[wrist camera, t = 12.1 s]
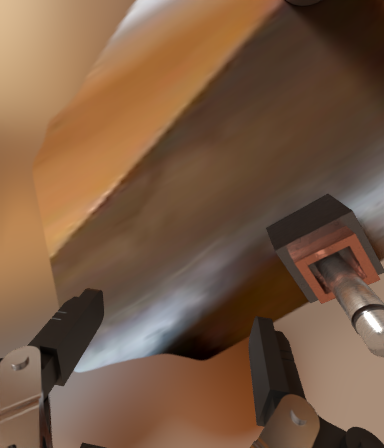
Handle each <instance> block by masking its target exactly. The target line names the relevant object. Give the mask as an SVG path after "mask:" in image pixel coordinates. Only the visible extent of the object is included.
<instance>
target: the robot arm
mask: <svg viewBox="0 0 384 448" xmlns="http://www.w3.org/2000/svg"><path fill="white" fill-rule="evenodd" d="M286 1H288V2H290V3H292V4H294V5H299V6H307V5H312V4H315V3H318V2H320V1H321V0H286ZM103 317H104V304H103V292H102V291H101V290H96V289H90V288H87V289H85V290H84V292H83V293H82V294H81V295H80V297H73V298H71V299H70V300H68V301H67V302H65V303H64V304H63V305H62V307H61V308H60V309H59V310H58V312H56V313H55V315H54V316H53V317H52V319H50V320H49V321H48V323H47V324H46V325H45V326H44V327H43V328H42V330H41V331H40V332H39V333H38V334H37V335H36V336H35V338H34V339H33V340H32V341H31V342H30V343H29V344H28V345H27V346H24V347H21V348H18V349H15V350H14V351H12V352H10V353H9V354H8V355H7V356H5V357H4V358H0V448H53V443H52V429H51V428H52V427H51V409H50V394H49V393H50V391H51V390H52V388H53V387H54V385H59V386H64V385H65V383H66V381H67V380H68V378H69V376H70V375H71V373H72V372H73V370H74V368H75V367H76V365H77V363H78V362H79V360H80V358H81V357H82V355H83V353H84V352H85V350H86V348H87V347H88V345H89V343H90V342H91V340H92V338H93V337H94V335H95V333H96V332H97V330H98V328H99V327H100V325H101V323H102V320H103ZM249 358H250V367H251V376H252V385H253V395H254V403H255V412H256V422H257V425H258V426H264V429H263V431H262V432H261V434H260V436H259V437H258V439H257V440H256V441H254V442H253V444H252V445H251V447H250V448H384V444H383V443H382V442H381V441H380V440H379V439H378V438H377V437H376V436H375V435H373V434H372V433H370V432H369V431H367V430H365V429H363V428H359V427H352V428H350V429H348V431H347V432H346V431H344V430H342V429H340V428H338V427H336V426H334V425H332V424H331V423H329V422H327V421H325V420H324V419H322V418H321V417H319V415H317V413H316V411H315V409H314V408H313V407H312V405H311V404H310V403H309V402H307V400H306V398H305V395H304V391H303V388H302V385H301V381H300V378H299V375H298V371H297V368H296V365H295V363H294V358H293V354H292V351H291V347H290V344H289V341H288V340H287V338H286V337H285V336H284V334H283V333H282V332H280V331H275V330H274V326H273V321H272V319H269V318H263V317H257V316H256V317H255V320H254V324H253V327H252V331H251V335H250V338H249ZM80 448H105V447H100V446H96V445H91V444H86V443H82V444H81V447H80Z"/></svg>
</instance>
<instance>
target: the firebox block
mask: <svg viewBox="0 0 384 448" xmlns="http://www.w3.org/2000/svg"><path fill="white" fill-rule="evenodd" d="M266 229H267V232H268V234H269V237H270V239H271V242H272V244H273V247H274V250H275V252H276V253H277V255H278V256H279V258H280V259H281V260H282V262H283V263H284V265H285V266H286V268H287V269H288V271H289V272H290V274H291V275H292V277H293V278H294V280H295V281H296V283H297V284H298V286H299V287H300V289H301V290H302V291H303V293H304V294H305V296H306V297H307V299H308V300H309V302H310V303H312V302H314V301H317V300H319V301H320V303H321V304H322V303H325V302H327V301H330V300H332V299H335V298H336V297H335V296H334V294H333V293H332V291H331V290H330V288H329V286H328V285H327V283H326V282H325V280H324V279H323V277H322V276H321V274H320V272H319V271H318V269H317V268H316V266H315V262H316V261H318V260H320V259H322V258H324V257H326V256H329V255H331V254H333V253H335V252H338V253H339V254H340V255H341V256H342V257H343V258H344V259H345V261H346V262H347V263H348V264H349V265H350V266H351V267H352V268H353V269H354V271H355V272H356V273H357V274H358V275H359V276H360V277H361V278H362V280H363V281H364V282H365V283H366V284H367V285H369V284H371V283H374V282H376V281H378V280H380V278H379V276H378V275H379V274H382V273H384V269H383V267H382V265H381V263H380V261H379V259H378V257H377V256H376V254H375V252H374V250H373V248H372V246H371V244H370V242H369V241H368V239H367V237H366V235H365V233H364V231H363V229H362V228H361V226H360V224H359V222H358V220H357V218H356V216H355V214H354V213H353V211H352V210H351V209H349V208H348V207H346V206H345V205H343V204H342V203H341V202H339V201H338V200H336V199H335V198H334V197H332V196H331V195H329V194H327V195H325V196H323V197H321V198H319V199H318V200H316V201H314V202H312V203H310V204H309V205H307V206H305V207H303V208H302V209H300V210H298V211H296V212H294V213H293V214H291V215H289V216H287V217H285V218H284V219H282V220H280V221H278V222H276V223H275V224H273V225H271V226H269V227H267V228H266Z"/></svg>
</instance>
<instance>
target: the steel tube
mask: <svg viewBox="0 0 384 448" xmlns="http://www.w3.org/2000/svg"><path fill="white" fill-rule="evenodd" d="M315 266H316V268H317V269H318V271H319V272H320V274H321V276H322V277H323V279H324V280H325V282H326V283H327V285H328V286H329V288H330V290H331V291H332V293H333V294H334V296H335V297H336V299H337V300H338V302H339V304H340V305H341V307H342V308H343V310H344V311H345V313H346V315H347V316H348V318H349V319H350V321H351V323H352V326H353V327H354V329H355V331H356V332H357V333H358V334H359V335H360V336H361V338H362V339H363V341H364V343H365V344H366V346H367V347H368V349H369V350H370V351H371V352H372V353H373V354H374V355H377V356H380V357H384V303H383V302H382V301H381V300H380V299H379V297H378V296H377V295H376V294H375V293H374V292H373V291H372V290H371V289H370V288H369V286H368V285H367V284H366V283H365V282H364V281H363V280H362V278H361V277H360V276H359V275H358V274H357V273H356V272H355V271H354V269H353V268H352V267H351V266H350V265H349V264H348V263H347V262H346V261H345V259H344V258H343V257H342V256H341V255H340V254H339V253H338V252H335V253H333V254H331V255H329V256H326V257H324V258H322V259H320V260H318V261H316V262H315Z"/></svg>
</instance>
